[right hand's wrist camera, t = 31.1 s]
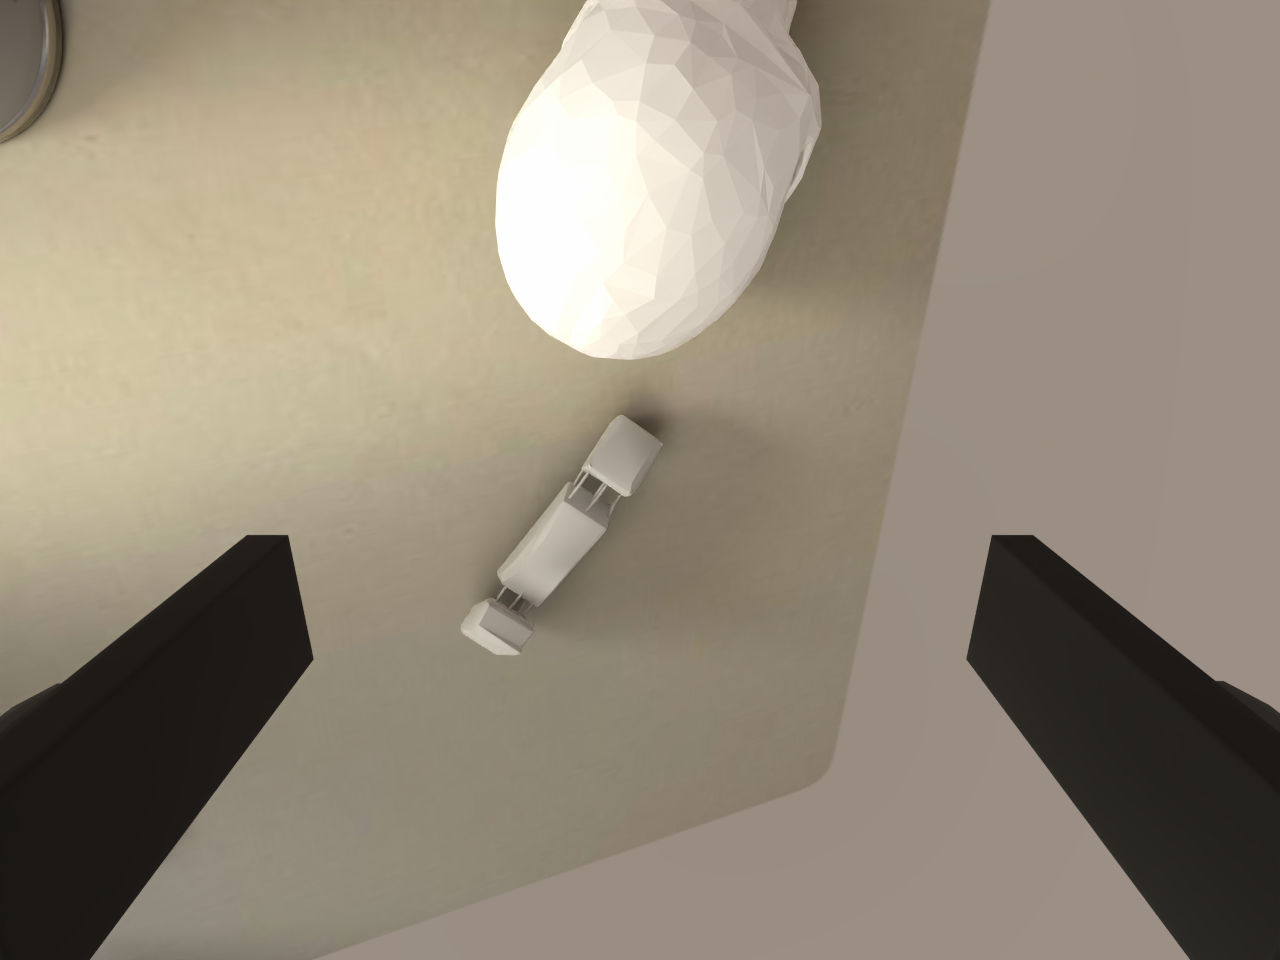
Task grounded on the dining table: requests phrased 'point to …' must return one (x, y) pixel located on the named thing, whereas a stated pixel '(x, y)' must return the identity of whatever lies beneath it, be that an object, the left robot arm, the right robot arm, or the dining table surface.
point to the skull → (653, 169)
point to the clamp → (562, 536)
